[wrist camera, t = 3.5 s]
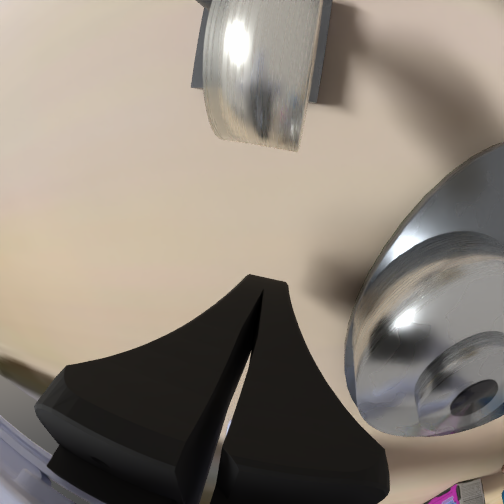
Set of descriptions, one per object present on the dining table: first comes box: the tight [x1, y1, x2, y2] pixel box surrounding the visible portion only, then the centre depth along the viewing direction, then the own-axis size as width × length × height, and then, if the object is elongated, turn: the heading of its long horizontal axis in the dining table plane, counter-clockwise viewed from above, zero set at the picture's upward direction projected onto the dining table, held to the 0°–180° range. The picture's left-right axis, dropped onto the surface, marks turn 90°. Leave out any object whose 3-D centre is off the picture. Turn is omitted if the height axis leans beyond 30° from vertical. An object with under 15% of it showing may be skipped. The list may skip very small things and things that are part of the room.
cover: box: [352, 231, 504, 437], centre depth 8 cm, size 8×8×4 cm
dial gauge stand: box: [191, 0, 332, 152], centre depth 5 cm, size 5×4×7 cm
